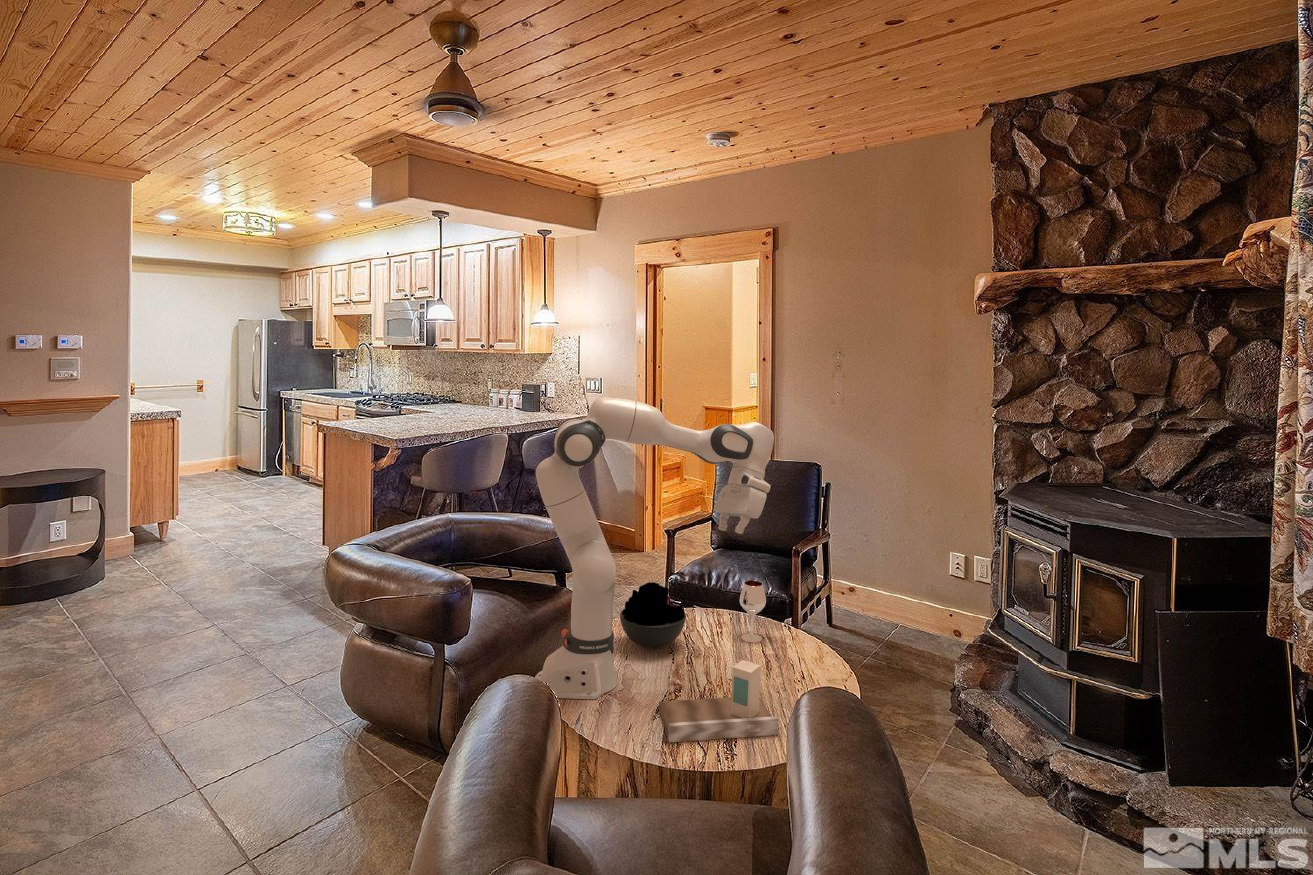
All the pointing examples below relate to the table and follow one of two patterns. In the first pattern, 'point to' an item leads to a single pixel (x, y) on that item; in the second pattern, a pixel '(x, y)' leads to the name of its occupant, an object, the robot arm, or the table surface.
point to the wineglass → (752, 605)
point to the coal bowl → (652, 617)
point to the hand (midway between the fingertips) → (729, 531)
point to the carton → (745, 689)
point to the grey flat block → (713, 720)
